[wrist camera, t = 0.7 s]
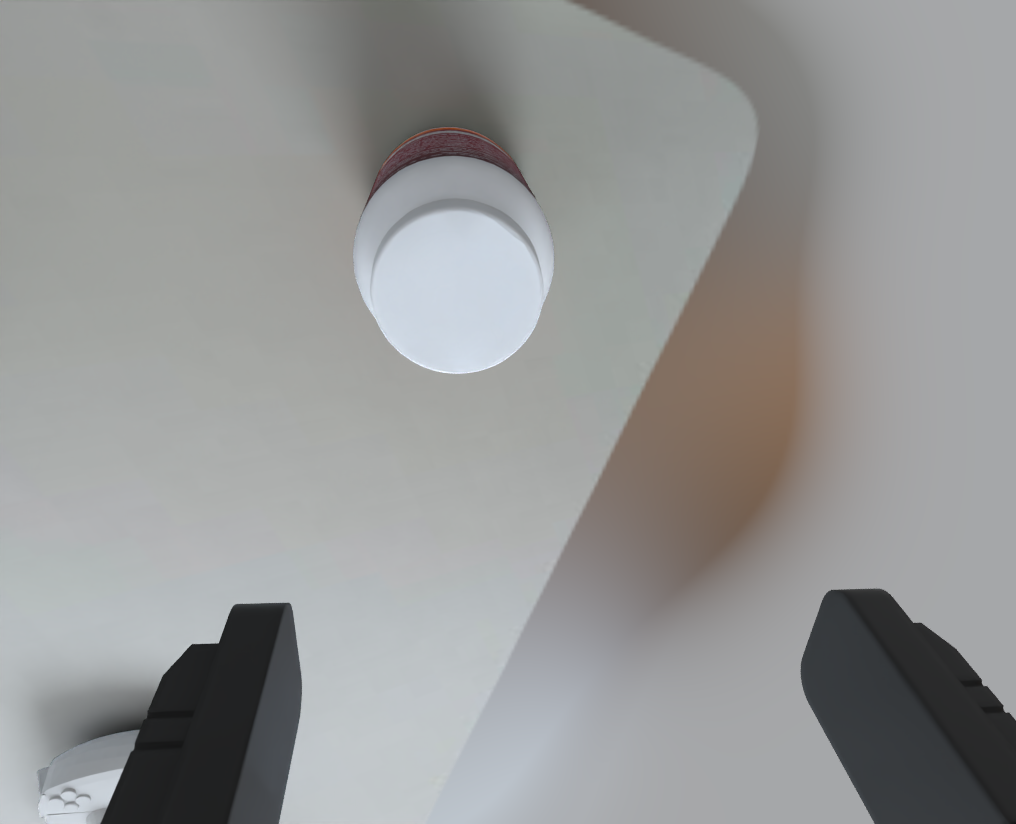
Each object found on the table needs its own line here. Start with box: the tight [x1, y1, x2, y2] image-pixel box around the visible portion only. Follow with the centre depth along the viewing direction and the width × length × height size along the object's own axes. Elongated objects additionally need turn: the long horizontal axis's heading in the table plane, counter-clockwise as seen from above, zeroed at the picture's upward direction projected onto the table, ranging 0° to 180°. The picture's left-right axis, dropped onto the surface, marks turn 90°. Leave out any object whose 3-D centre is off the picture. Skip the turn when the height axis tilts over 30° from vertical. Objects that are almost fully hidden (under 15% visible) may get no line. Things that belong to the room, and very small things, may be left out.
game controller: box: [37, 730, 140, 824], centre depth 41 cm, size 14×4×10 cm
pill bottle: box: [353, 127, 554, 374], centre depth 24 cm, size 6×6×11 cm
